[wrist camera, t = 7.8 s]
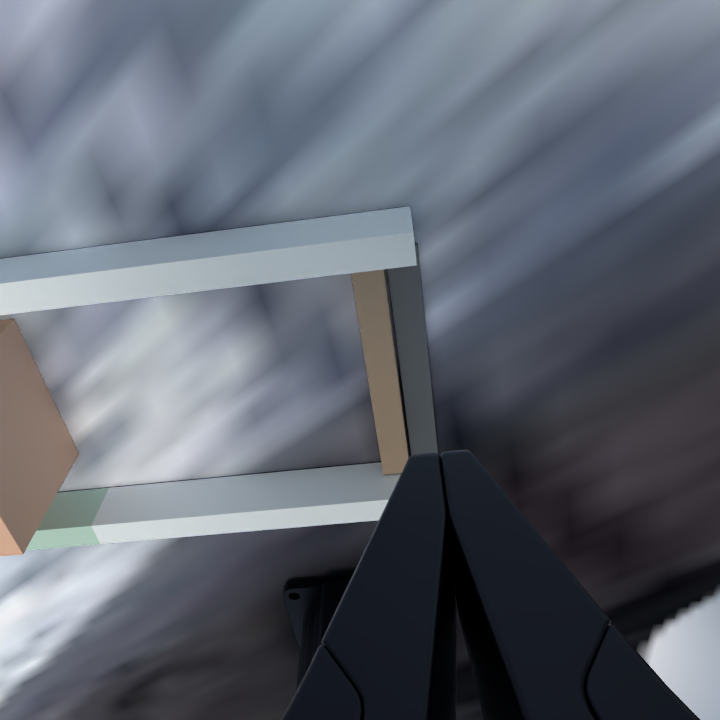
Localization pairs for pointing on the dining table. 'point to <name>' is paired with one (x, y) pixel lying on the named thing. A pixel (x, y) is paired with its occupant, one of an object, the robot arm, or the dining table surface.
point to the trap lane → (235, 269)
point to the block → (27, 443)
